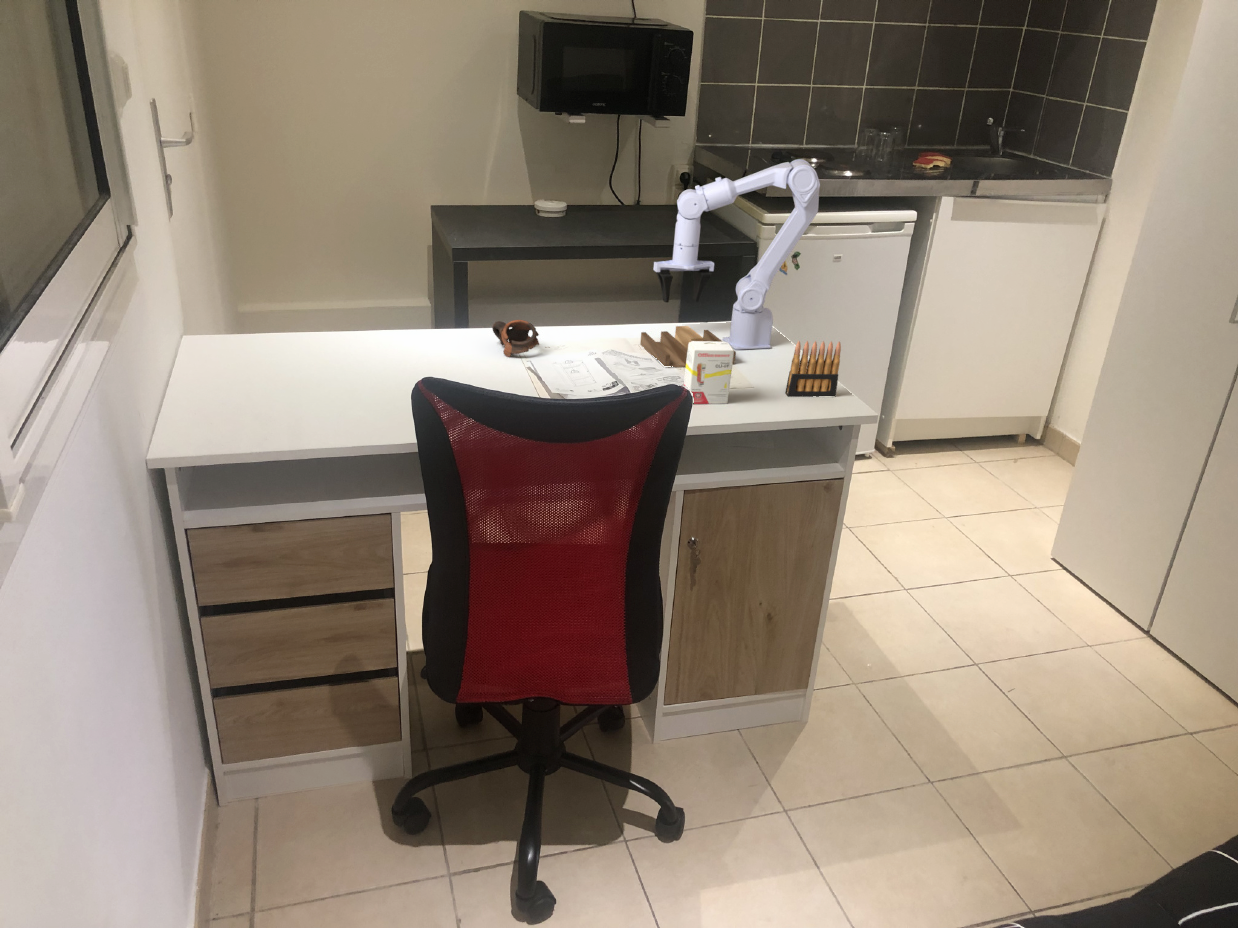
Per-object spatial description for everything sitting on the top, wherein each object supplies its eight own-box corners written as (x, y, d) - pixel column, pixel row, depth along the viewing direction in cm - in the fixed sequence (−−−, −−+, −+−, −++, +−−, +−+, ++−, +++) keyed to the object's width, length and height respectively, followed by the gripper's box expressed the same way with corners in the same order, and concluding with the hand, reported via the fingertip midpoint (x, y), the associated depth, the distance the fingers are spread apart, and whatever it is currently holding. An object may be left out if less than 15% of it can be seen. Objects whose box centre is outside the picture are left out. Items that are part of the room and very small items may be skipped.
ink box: (687, 404, 191) (693, 349, 186) (681, 395, 196) (687, 341, 191) (728, 404, 193) (735, 349, 188) (721, 395, 198) (728, 341, 192)
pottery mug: (546, 350, 217) (547, 326, 210) (524, 377, 212) (525, 353, 205) (502, 328, 219) (501, 303, 212) (479, 354, 214) (478, 330, 208)
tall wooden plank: (685, 346, 223) (687, 325, 221) (701, 359, 216) (703, 338, 213) (673, 346, 222) (675, 326, 220) (688, 359, 215) (691, 338, 212)
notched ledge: (706, 341, 229) (707, 329, 228) (734, 364, 215) (735, 351, 214) (640, 344, 224) (641, 332, 222) (664, 368, 210) (665, 355, 209)
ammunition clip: (832, 393, 203) (842, 340, 198) (835, 396, 201) (845, 343, 196) (784, 393, 201) (793, 339, 196) (787, 396, 200) (796, 342, 194)
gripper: (663, 248, 214) (658, 306, 220) (722, 247, 218) (715, 305, 224) (652, 240, 220) (647, 298, 226) (709, 240, 224) (703, 296, 230)
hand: (680, 301), depth 225 cm, fingers open, 7 cm apart
